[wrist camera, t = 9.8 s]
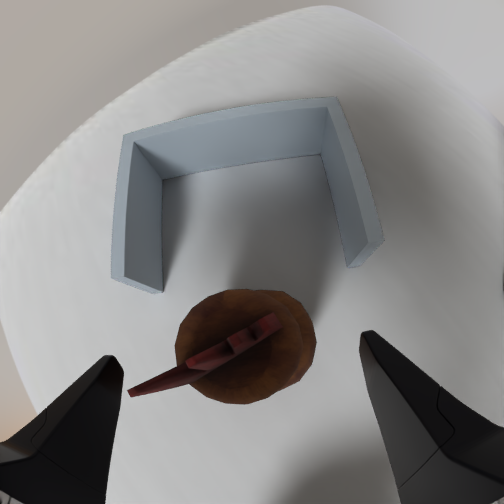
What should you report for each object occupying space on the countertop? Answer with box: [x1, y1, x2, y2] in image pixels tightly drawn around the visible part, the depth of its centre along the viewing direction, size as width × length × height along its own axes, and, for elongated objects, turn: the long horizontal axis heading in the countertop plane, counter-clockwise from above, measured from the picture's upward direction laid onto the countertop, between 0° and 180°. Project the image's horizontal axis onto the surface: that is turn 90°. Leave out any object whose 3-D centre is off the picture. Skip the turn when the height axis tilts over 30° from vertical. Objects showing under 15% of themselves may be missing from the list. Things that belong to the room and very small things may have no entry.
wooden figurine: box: [127, 289, 317, 404], centre depth 13 cm, size 7×6×15 cm
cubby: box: [111, 97, 385, 293], centre depth 20 cm, size 11×16×6 cm
